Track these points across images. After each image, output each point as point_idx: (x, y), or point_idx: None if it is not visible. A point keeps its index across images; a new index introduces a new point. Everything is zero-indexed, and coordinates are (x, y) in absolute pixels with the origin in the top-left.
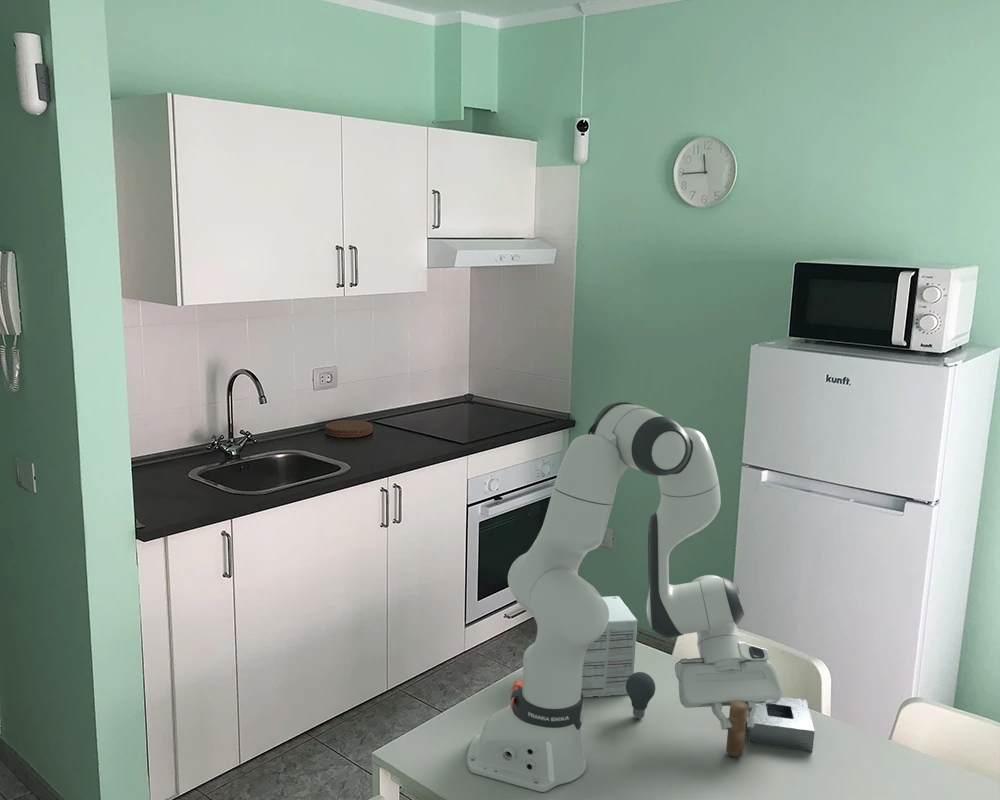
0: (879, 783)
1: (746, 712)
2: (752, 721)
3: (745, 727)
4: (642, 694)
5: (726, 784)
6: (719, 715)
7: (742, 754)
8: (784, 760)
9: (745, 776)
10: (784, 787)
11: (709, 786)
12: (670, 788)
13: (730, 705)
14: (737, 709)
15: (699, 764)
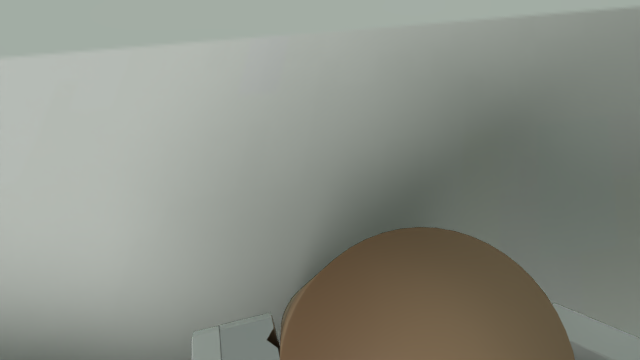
0: None
1: (302, 292)
2: (206, 358)
3: (287, 312)
4: None
5: (399, 73)
6: (597, 332)
7: (288, 303)
8: (27, 327)
9: (298, 143)
10: (118, 77)
11: (476, 52)
12: (637, 25)
13: None
14: (463, 235)
15: (521, 216)
